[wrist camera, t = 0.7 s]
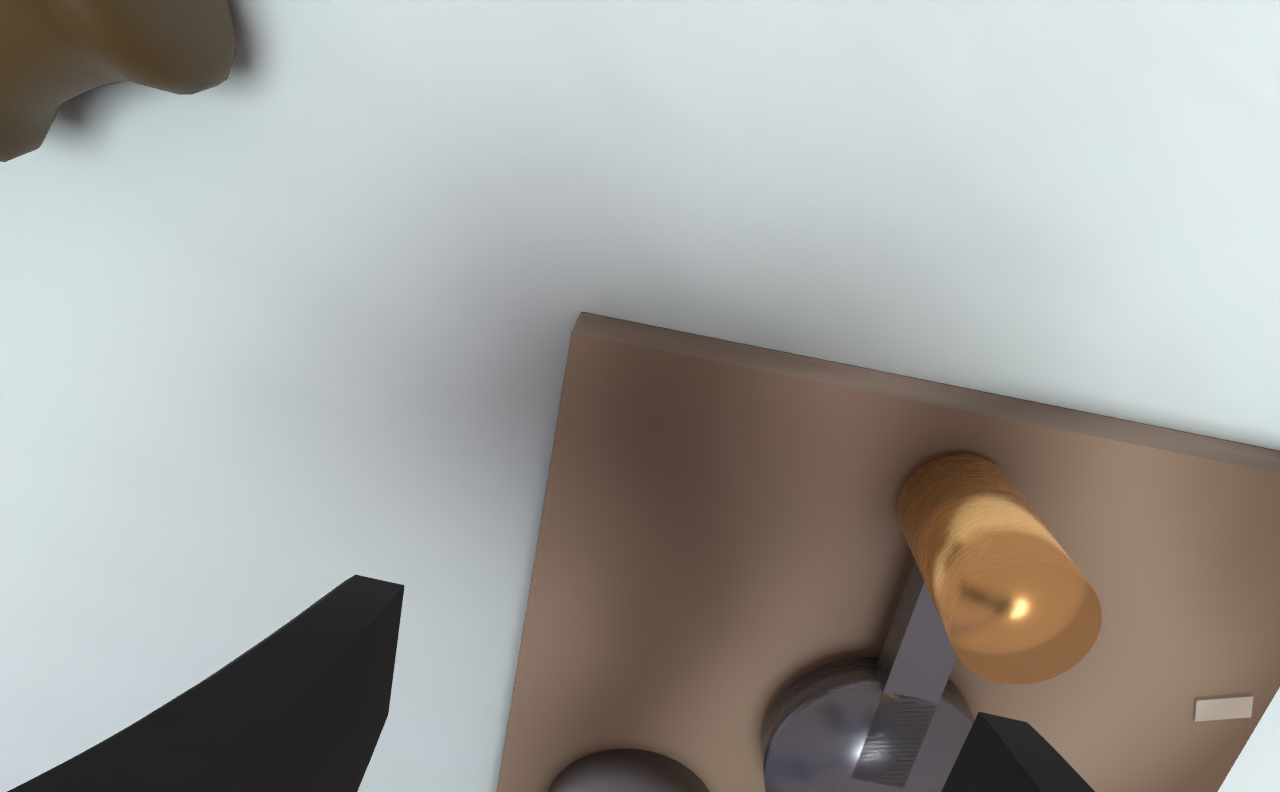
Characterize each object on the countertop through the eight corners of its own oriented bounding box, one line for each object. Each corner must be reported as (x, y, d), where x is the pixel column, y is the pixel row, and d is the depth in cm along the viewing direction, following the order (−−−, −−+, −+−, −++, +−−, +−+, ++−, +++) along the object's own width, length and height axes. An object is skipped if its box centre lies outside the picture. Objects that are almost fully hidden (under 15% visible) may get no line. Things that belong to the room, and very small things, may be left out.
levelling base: (489, 861, 25) (461, 970, 22) (581, 312, 18) (558, 359, 15) (1057, 971, 25) (1105, 1095, 22) (1341, 463, 18) (1464, 539, 16)
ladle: (937, 839, 21) (989, 1007, 17) (739, 800, 21) (748, 960, 17) (1095, 479, 17) (1206, 594, 13) (854, 431, 17) (897, 532, 13)
